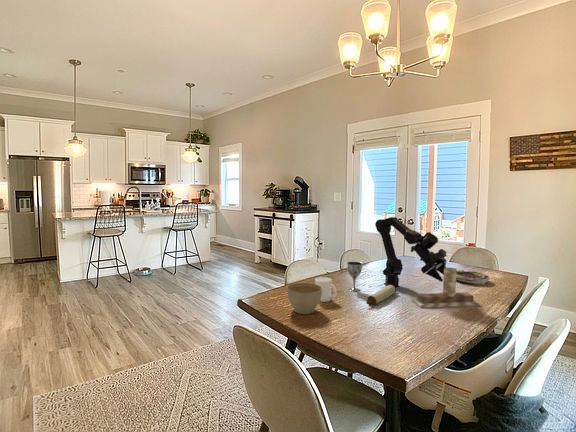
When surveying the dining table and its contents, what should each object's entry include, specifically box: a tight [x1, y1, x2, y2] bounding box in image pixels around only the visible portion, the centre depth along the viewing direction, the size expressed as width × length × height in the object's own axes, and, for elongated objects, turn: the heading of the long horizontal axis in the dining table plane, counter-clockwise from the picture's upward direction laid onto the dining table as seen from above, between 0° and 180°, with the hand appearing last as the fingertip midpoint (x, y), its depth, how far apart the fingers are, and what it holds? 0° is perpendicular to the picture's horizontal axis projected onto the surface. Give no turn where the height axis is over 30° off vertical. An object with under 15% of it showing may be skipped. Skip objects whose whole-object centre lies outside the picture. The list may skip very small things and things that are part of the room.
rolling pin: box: [366, 285, 397, 307], centre depth 171 cm, size 32×6×5 cm, turn 140°
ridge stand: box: [410, 292, 481, 308], centre depth 165 cm, size 30×9×4 cm, turn 96°
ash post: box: [442, 266, 458, 297], centre depth 164 cm, size 4×4×13 cm
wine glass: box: [346, 261, 363, 293], centre depth 185 cm, size 8×8×15 cm
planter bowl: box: [286, 282, 322, 315], centre depth 155 cm, size 16×16×11 cm
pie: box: [456, 269, 490, 286], centre depth 204 cm, size 28×27×5 cm
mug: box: [314, 276, 338, 303], centre depth 169 cm, size 12×8×10 cm
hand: (445, 279), depth 166 cm, fingers open, 9 cm apart
